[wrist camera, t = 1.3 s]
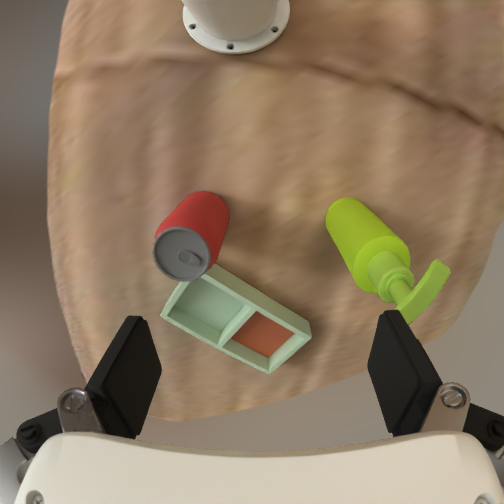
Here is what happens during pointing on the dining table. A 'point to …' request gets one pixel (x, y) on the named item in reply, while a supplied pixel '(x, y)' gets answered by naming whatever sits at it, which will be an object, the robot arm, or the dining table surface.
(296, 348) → the divided tray
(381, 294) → the soap dispenser
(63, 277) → the dining table surface
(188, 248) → the beer can
